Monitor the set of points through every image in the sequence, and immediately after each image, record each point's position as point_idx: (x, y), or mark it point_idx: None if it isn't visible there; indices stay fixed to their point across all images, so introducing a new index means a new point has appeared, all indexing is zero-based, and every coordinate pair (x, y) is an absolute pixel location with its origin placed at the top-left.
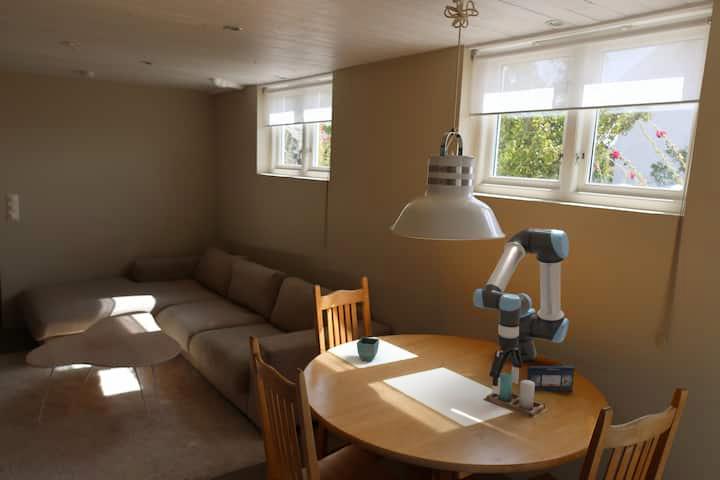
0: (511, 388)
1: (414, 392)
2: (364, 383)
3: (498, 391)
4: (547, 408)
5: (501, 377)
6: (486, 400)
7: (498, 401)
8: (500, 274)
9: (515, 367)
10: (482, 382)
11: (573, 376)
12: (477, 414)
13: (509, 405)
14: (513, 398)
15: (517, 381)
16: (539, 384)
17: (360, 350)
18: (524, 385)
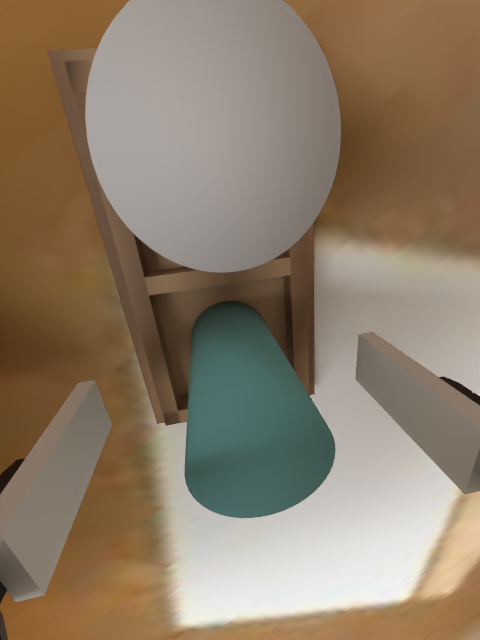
0: (229, 340)
1: (417, 528)
2: (453, 597)
3: (389, 344)
4: (58, 59)
5: (330, 456)
6: (310, 378)
7: (306, 328)
8: None
9: (13, 566)
10: (143, 509)
11: None
12: (432, 317)
13: (304, 255)
14: (166, 322)
15: (82, 395)
16: None
17: None
18: (336, 132)
